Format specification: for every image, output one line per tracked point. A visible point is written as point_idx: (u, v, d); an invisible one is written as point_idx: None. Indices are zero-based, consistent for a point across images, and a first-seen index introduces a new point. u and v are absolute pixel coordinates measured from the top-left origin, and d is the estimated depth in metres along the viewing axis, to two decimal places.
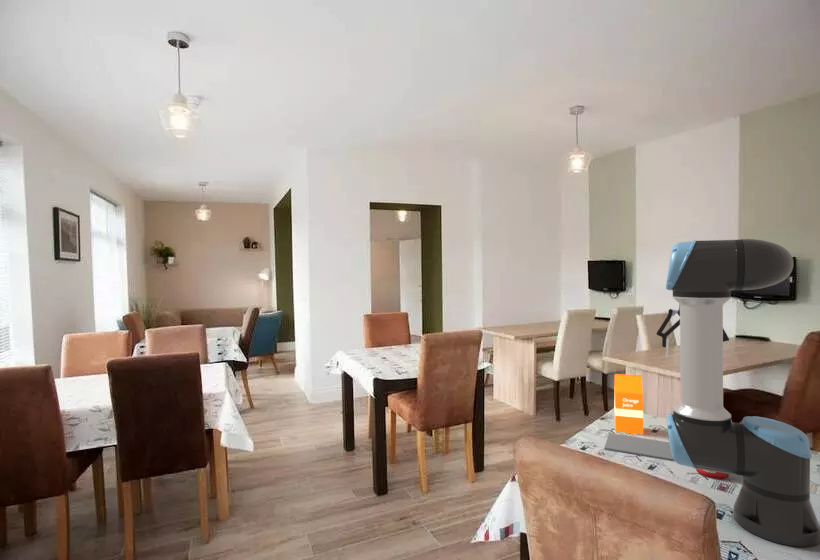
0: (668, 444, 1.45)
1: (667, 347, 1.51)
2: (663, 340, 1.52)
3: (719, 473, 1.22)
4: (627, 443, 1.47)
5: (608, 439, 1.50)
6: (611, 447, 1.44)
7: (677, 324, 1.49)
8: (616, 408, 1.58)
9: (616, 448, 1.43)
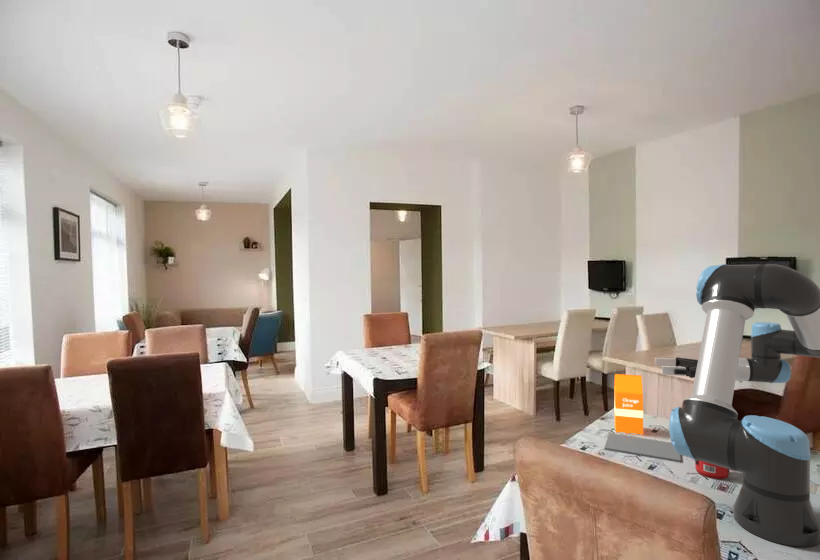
0: (668, 444, 1.45)
1: (665, 358, 1.61)
2: None
3: (719, 473, 1.22)
4: (627, 443, 1.47)
5: (608, 439, 1.50)
6: (611, 447, 1.44)
7: (693, 361, 1.56)
8: (616, 408, 1.58)
9: (616, 448, 1.43)
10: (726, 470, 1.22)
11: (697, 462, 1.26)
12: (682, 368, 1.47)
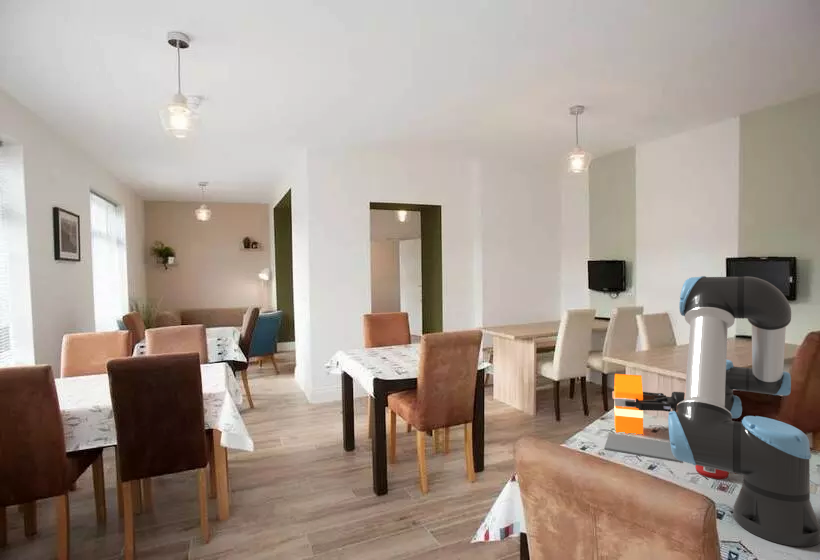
0: (668, 444, 1.45)
1: None
2: None
3: (719, 473, 1.22)
4: (627, 443, 1.47)
5: (608, 439, 1.50)
6: (611, 447, 1.44)
7: (650, 395, 1.60)
8: (616, 408, 1.58)
9: (616, 448, 1.43)
10: None
11: None
12: (633, 400, 1.55)
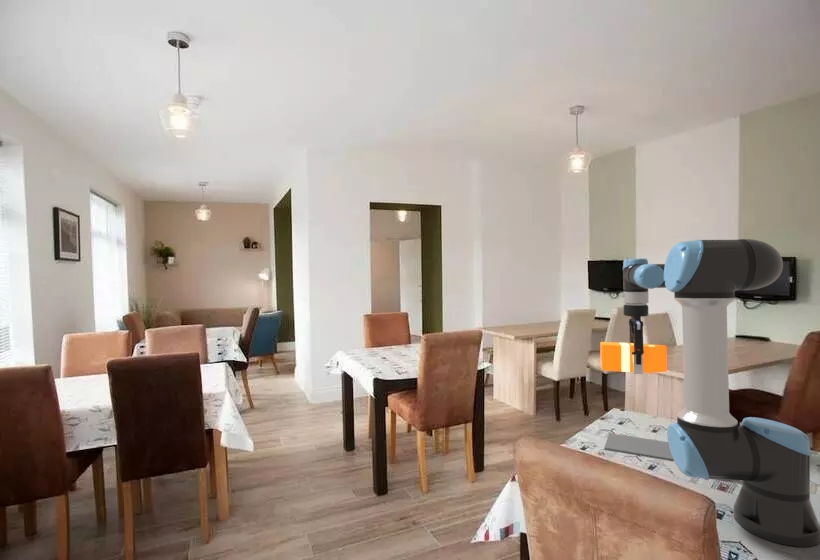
0: (668, 444, 1.45)
1: (642, 363, 1.47)
2: (640, 357, 1.46)
3: None
4: (627, 443, 1.47)
5: (608, 439, 1.50)
6: (611, 447, 1.44)
7: None
8: None
9: (616, 448, 1.43)
10: None
11: None
12: None
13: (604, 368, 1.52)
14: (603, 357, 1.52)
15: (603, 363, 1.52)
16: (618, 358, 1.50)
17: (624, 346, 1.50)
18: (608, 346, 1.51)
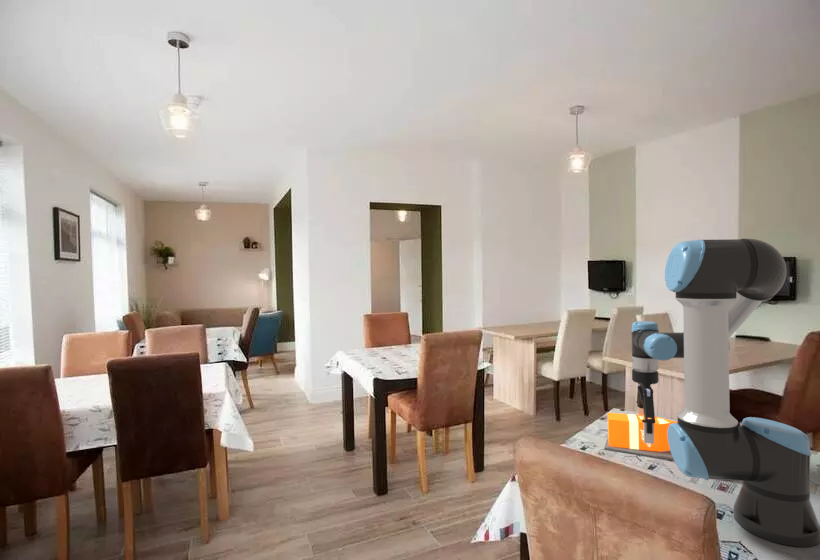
0: None
1: (653, 432, 1.37)
2: (652, 426, 1.36)
3: None
4: None
5: None
6: (611, 447, 1.44)
7: None
8: None
9: (616, 448, 1.43)
10: None
11: None
12: None
13: (611, 444, 1.44)
14: (610, 432, 1.44)
15: (610, 439, 1.44)
16: (627, 435, 1.43)
17: (632, 422, 1.42)
18: (615, 421, 1.44)
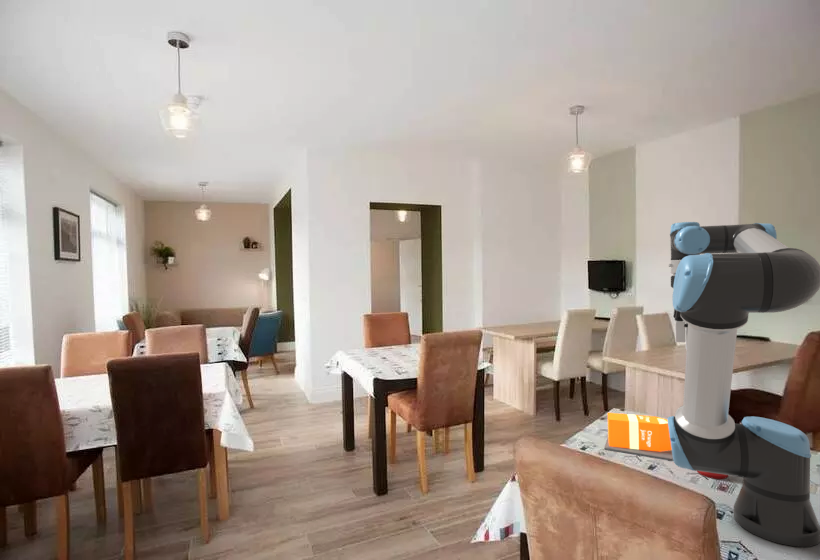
0: None
1: None
2: None
3: None
4: None
5: None
6: (611, 447, 1.44)
7: None
8: None
9: (616, 448, 1.43)
10: None
11: None
12: None
13: (611, 444, 1.44)
14: (610, 432, 1.44)
15: (610, 439, 1.44)
16: (627, 435, 1.43)
17: (632, 422, 1.42)
18: (615, 421, 1.44)
